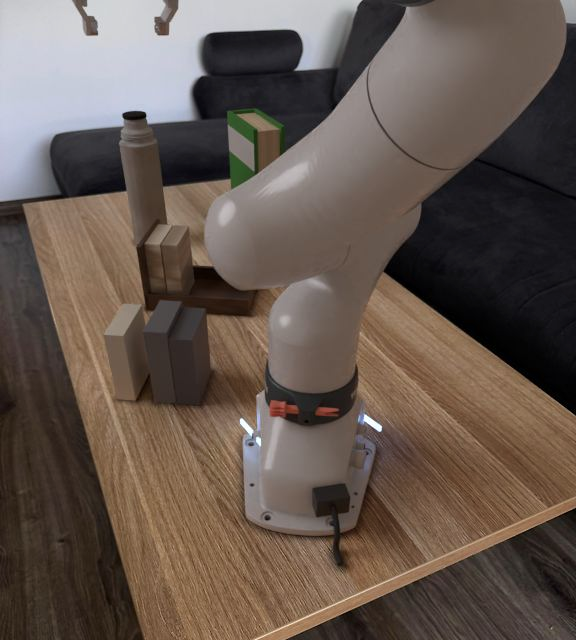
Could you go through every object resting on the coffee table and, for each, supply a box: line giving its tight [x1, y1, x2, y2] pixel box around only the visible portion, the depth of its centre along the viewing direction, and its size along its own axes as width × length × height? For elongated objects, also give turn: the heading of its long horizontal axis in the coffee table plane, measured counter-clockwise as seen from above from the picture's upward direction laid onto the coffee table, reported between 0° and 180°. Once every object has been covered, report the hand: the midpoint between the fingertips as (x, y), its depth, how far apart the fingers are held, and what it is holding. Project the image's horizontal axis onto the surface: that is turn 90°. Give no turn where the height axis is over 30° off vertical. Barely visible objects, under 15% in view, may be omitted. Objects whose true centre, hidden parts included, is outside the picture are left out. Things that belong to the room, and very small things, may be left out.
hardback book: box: [226, 107, 286, 190], centre depth 142 cm, size 18×7×24 cm, turn 23°
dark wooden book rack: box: [135, 219, 258, 317], centre depth 114 cm, size 20×13×13 cm, turn 84°
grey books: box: [143, 300, 212, 406], centre depth 91 cm, size 7×9×13 cm
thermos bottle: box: [118, 110, 169, 246], centre depth 130 cm, size 8×8×28 cm
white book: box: [102, 303, 150, 402], centre depth 92 cm, size 3×9×12 cm, turn 174°
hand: (127, 34), depth 78 cm, fingers open, 8 cm apart
